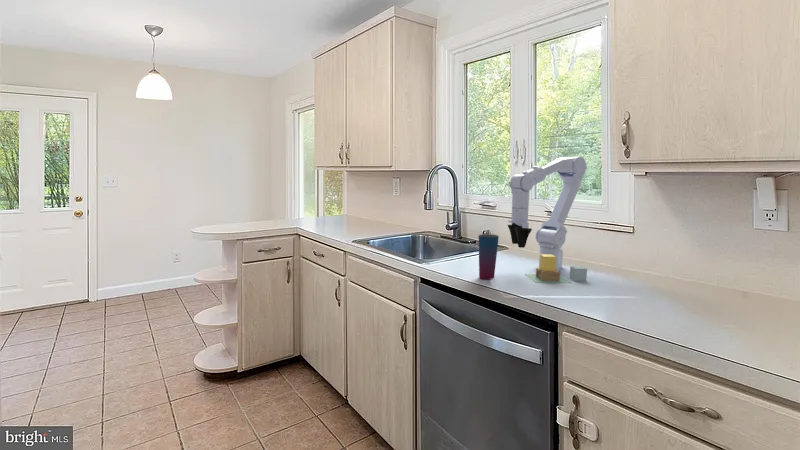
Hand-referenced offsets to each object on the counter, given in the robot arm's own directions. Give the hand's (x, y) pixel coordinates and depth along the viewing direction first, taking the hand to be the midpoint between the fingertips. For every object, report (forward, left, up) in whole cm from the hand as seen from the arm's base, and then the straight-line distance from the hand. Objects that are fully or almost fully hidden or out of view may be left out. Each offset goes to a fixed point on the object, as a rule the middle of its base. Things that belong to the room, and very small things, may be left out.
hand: (518, 245), depth 153 cm
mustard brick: (+1, +12, -7) cm, 14 cm away
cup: (+14, -4, -11) cm, 18 cm away
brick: (-5, +20, -10) cm, 23 cm away
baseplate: (+1, +12, -10) cm, 16 cm away
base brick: (+1, +12, -10) cm, 16 cm away
